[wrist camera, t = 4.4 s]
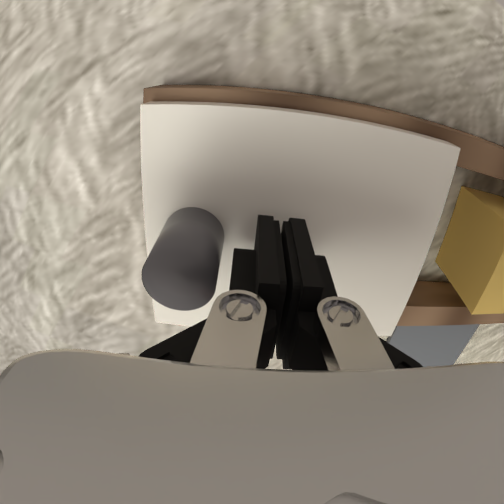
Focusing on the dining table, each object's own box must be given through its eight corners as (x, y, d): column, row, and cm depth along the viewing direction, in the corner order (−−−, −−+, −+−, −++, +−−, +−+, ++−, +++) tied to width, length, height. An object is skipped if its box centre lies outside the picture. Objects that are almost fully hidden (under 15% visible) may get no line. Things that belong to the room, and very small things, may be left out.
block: (513, 199, 15) (561, 239, 11) (487, 265, 18) (524, 312, 14) (461, 185, 15) (513, 228, 11) (434, 260, 18) (471, 314, 13)
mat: (485, 306, 20) (488, 309, 19) (443, 373, 24) (444, 376, 23) (403, 304, 19) (405, 309, 19) (366, 379, 24) (367, 382, 23)
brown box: (569, 178, 14) (591, 193, 12) (517, 300, 19) (532, 320, 17) (161, 85, 13) (143, 88, 11) (166, 282, 19) (156, 311, 16)
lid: (448, 141, 11) (505, 174, 8) (385, 323, 16) (407, 380, 13) (149, 101, 11) (103, 118, 7) (160, 308, 16) (140, 370, 13)
